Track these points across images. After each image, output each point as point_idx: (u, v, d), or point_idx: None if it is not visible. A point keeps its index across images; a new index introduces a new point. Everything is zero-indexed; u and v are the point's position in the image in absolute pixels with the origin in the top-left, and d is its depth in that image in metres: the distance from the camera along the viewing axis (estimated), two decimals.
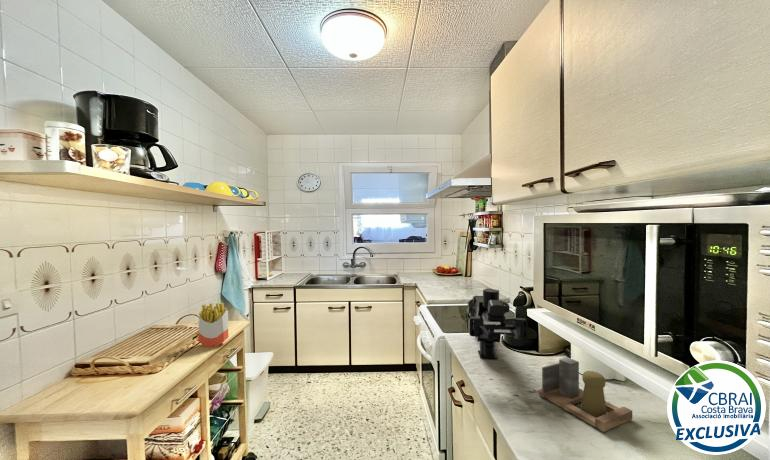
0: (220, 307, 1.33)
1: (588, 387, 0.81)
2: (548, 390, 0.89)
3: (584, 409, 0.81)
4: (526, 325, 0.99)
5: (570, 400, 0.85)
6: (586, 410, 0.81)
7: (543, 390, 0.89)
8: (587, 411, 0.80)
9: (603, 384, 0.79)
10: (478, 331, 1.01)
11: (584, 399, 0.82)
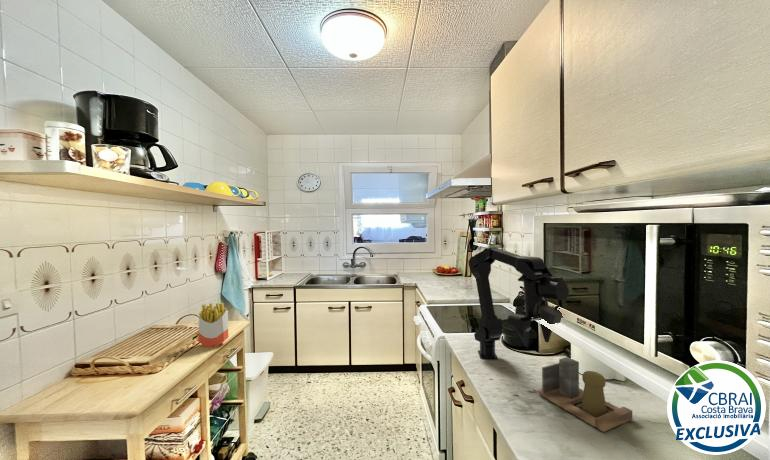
0: (220, 307, 1.33)
1: (588, 387, 0.81)
2: (548, 390, 0.89)
3: (584, 409, 0.81)
4: None
5: (570, 400, 0.85)
6: (586, 410, 0.81)
7: (543, 390, 0.89)
8: (587, 411, 0.80)
9: (603, 384, 0.79)
10: None
11: (584, 399, 0.82)
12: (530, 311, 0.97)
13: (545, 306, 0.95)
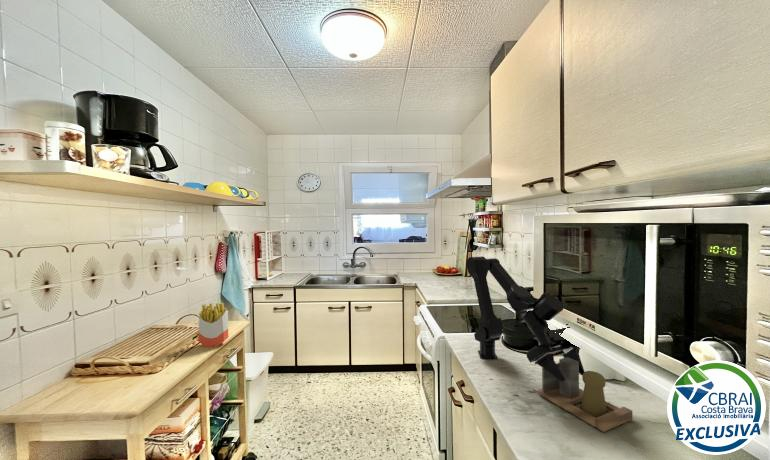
0: (220, 307, 1.33)
1: (588, 387, 0.81)
2: (548, 390, 0.89)
3: (584, 409, 0.81)
4: None
5: (570, 400, 0.85)
6: (586, 410, 0.81)
7: (543, 390, 0.89)
8: (587, 411, 0.80)
9: (603, 384, 0.79)
10: (542, 361, 0.89)
11: (584, 399, 0.82)
12: (544, 342, 0.92)
13: None
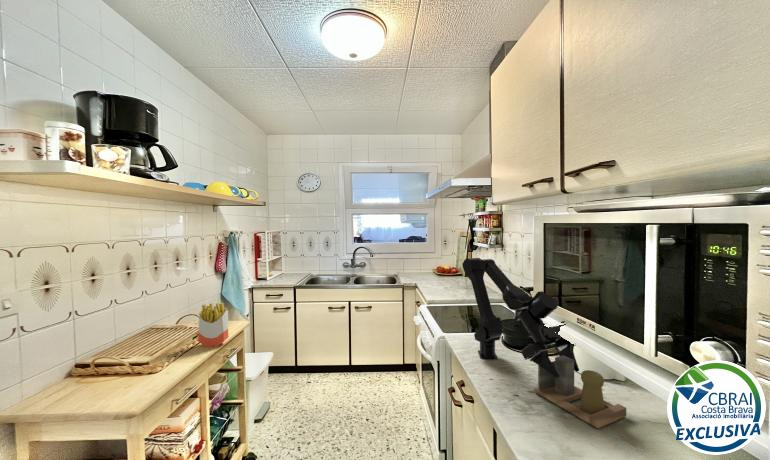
0: (220, 307, 1.33)
1: (587, 386, 0.81)
2: (544, 388, 0.91)
3: (583, 408, 0.81)
4: None
5: (565, 398, 0.86)
6: (585, 409, 0.81)
7: (539, 388, 0.90)
8: (586, 410, 0.81)
9: (601, 383, 0.79)
10: (537, 358, 0.90)
11: (583, 398, 0.82)
12: (539, 339, 0.94)
13: None
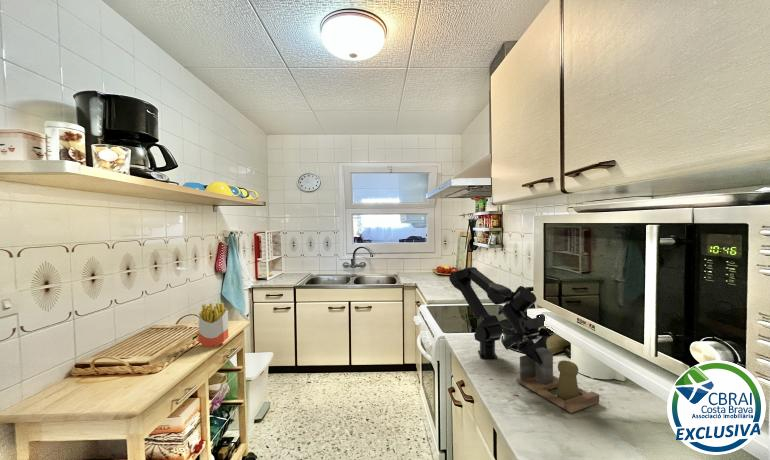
0: (220, 307, 1.33)
1: (563, 375, 0.87)
2: (525, 377, 0.97)
3: (559, 396, 0.88)
4: (552, 334, 1.03)
5: (544, 386, 0.92)
6: (561, 396, 0.87)
7: (520, 377, 0.96)
8: (562, 397, 0.87)
9: (576, 372, 0.86)
10: (522, 347, 0.98)
11: (559, 386, 0.88)
12: (519, 331, 1.01)
13: None
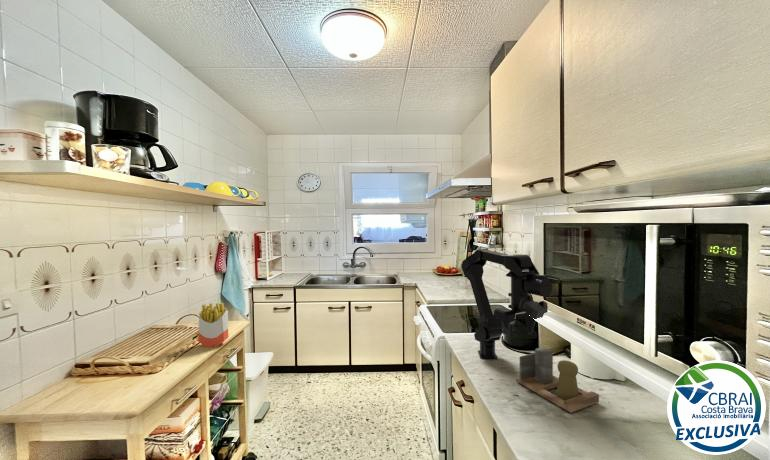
0: (220, 307, 1.33)
1: (562, 375, 0.87)
2: (525, 377, 0.97)
3: (559, 396, 0.88)
4: None
5: (544, 386, 0.93)
6: (561, 396, 0.87)
7: (520, 377, 0.97)
8: (561, 397, 0.87)
9: (576, 372, 0.86)
10: None
11: (559, 386, 0.88)
12: (515, 306, 1.02)
13: (530, 301, 1.00)
